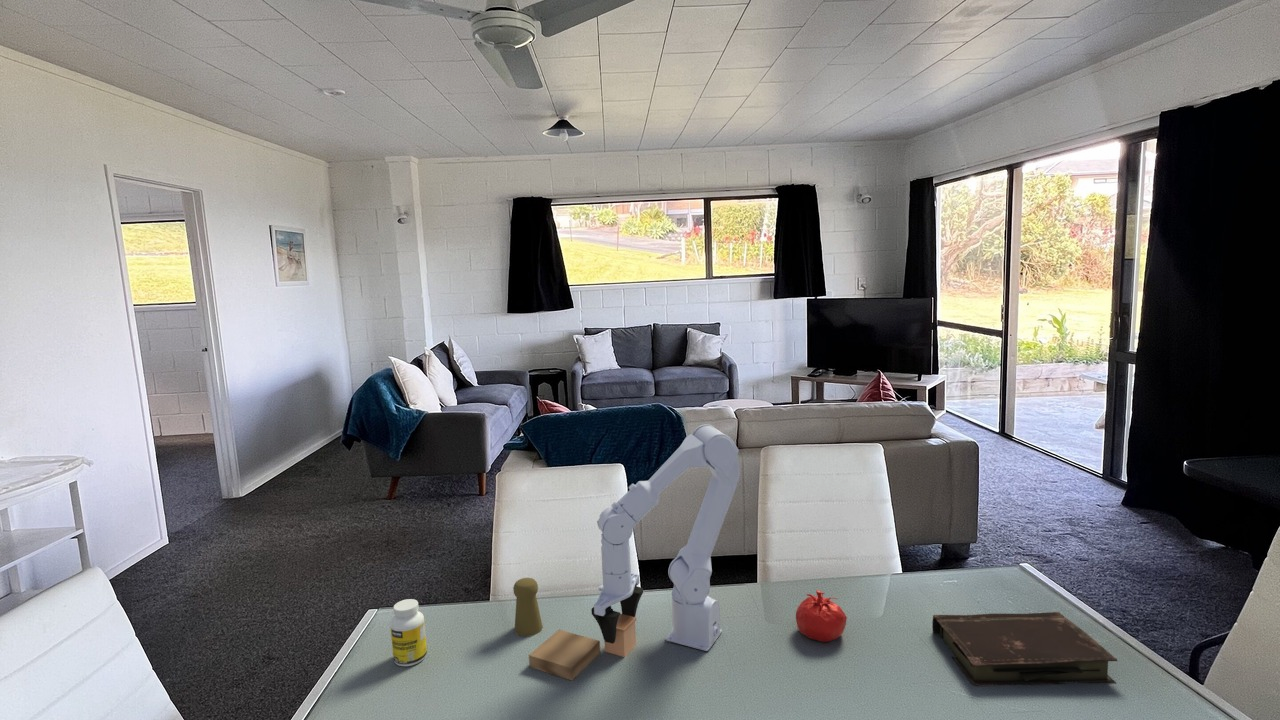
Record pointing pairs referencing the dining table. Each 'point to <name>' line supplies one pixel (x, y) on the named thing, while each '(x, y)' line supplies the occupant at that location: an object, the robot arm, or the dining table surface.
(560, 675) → the walnut block
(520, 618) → the olive pawn
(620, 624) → the square wooden stamp
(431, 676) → the dining table surface
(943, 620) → the diary
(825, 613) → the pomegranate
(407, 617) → the pill bottle
